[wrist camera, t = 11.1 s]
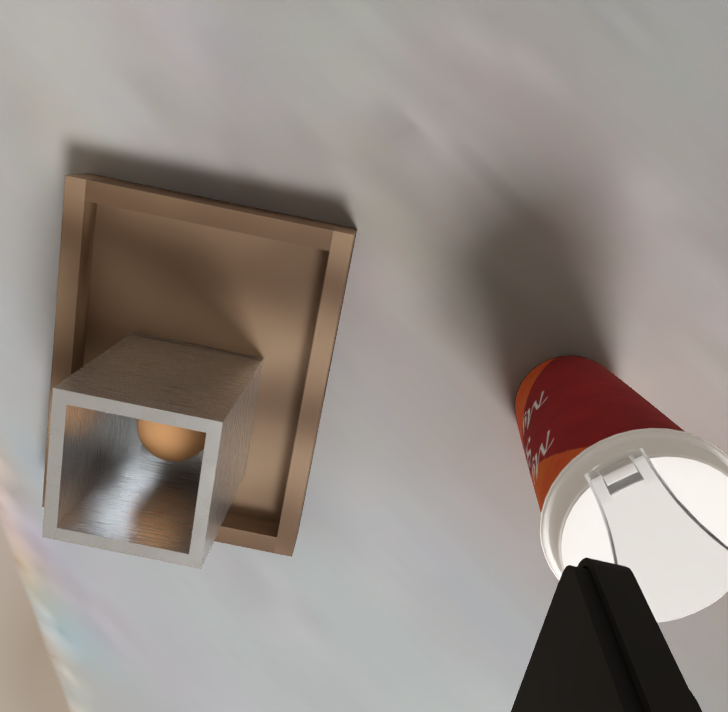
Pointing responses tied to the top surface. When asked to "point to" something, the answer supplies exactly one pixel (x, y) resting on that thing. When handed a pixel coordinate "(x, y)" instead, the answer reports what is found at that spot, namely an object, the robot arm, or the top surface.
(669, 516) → the paper cup
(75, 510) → the square metal container
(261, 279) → the walnut tray
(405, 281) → the top surface
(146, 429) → the mixing ball
